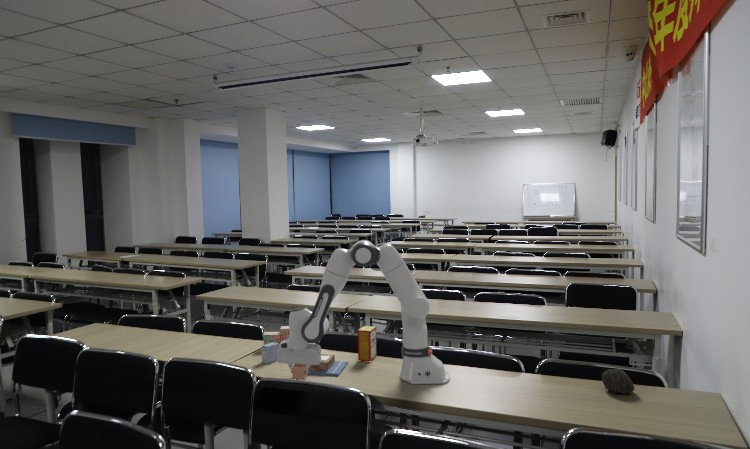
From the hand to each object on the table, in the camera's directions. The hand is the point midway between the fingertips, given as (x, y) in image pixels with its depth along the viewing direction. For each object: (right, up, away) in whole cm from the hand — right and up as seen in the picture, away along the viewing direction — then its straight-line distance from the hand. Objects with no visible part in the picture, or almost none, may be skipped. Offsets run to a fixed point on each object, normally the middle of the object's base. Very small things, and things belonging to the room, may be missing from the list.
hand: (299, 373), depth 220 cm
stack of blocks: (-16, -1, +45) cm, 48 cm away
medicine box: (-19, -2, +25) cm, 31 cm away
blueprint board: (+9, -2, +13) cm, 15 cm away
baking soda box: (+31, -1, +27) cm, 41 cm away
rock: (+134, -1, -22) cm, 136 cm away
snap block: (0, -2, 0) cm, 2 cm away
